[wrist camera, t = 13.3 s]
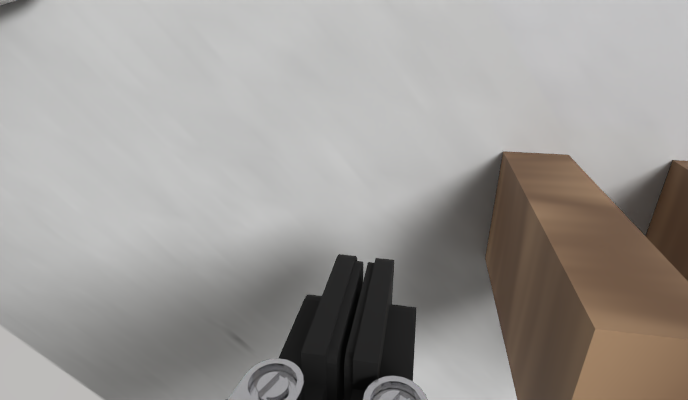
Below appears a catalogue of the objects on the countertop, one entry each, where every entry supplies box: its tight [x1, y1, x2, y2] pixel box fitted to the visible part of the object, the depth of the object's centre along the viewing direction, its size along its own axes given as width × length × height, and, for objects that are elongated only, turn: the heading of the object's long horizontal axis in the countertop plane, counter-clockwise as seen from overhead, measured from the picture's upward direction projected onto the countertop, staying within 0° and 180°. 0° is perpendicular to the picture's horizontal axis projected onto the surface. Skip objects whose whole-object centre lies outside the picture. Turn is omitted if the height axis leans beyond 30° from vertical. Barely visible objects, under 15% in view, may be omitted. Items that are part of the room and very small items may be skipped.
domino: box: [485, 152, 688, 400], centre depth 13 cm, size 2×5×10 cm, turn 0°
